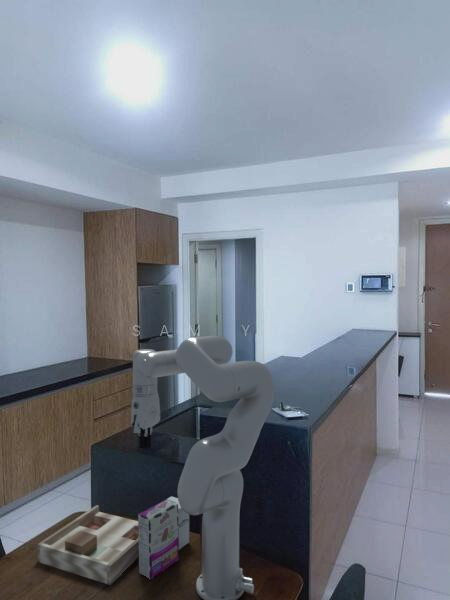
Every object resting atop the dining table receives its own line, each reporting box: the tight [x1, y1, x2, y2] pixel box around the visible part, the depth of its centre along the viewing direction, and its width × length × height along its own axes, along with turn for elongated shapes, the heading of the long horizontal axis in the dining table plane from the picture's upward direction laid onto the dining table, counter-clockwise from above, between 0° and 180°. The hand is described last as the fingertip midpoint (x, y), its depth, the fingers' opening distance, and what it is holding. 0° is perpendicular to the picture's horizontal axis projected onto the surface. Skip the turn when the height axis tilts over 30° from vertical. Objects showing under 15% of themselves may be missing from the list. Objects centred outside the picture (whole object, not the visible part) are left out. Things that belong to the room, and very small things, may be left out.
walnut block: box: [65, 531, 97, 556], centre depth 124 cm, size 6×6×4 cm
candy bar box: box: [137, 498, 180, 581], centre depth 123 cm, size 11×5×16 cm, turn 143°
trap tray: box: [37, 504, 139, 586], centre depth 131 cm, size 25×25×5 cm
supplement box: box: [167, 496, 190, 550], centre depth 133 cm, size 7×7×13 cm
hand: (145, 447), depth 139 cm, fingers closed
